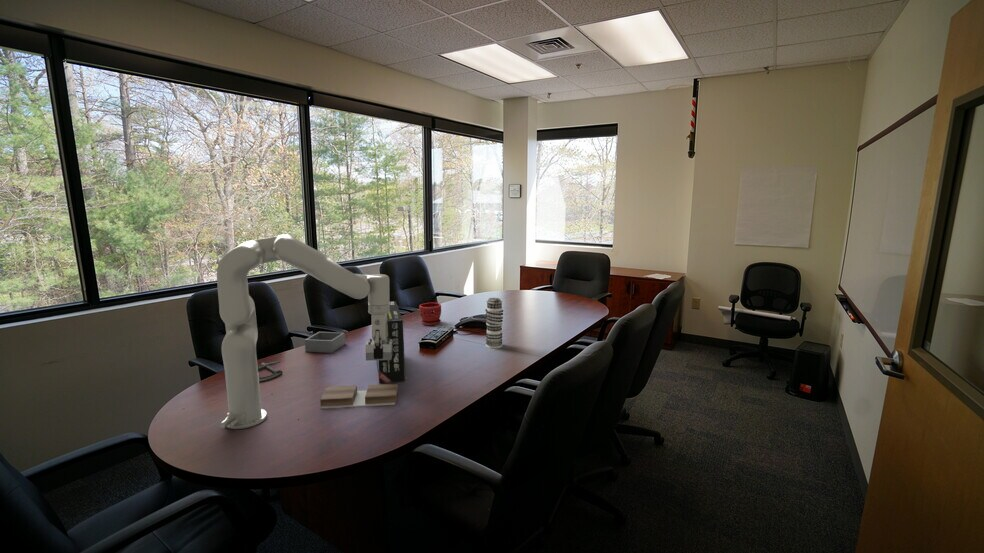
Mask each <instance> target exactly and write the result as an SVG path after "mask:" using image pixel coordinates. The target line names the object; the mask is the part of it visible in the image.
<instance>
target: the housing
mask: <svg viewBox="0 0 984 553" xmlns="http://www.w3.org/2000/svg"><path fill="white" fill-rule="evenodd" d="M379 343H380V342H379ZM382 348H383V359H374V341H373V340H372V338H369V339H367V340H366V343H365V361H368V362H369V361H376V360H391V358H392V339H390V338H388V339H387V340H385V341H384V340H382Z"/></svg>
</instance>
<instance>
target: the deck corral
mask: <svg viewBox="0 0 984 553" xmlns="http://www.w3.org/2000/svg"><path fill="white" fill-rule="evenodd" d="M344 345H346V334H345V332H334V331H333V332H332V331H317V332H316V333H314V334H313V335H310V336H309V337H307V338H305V339H304V349H305V352H306V353H307V352H309V353H327V354H328V353H329V354H333V353H335V352H336V351H337V350H338V349H341V347H344Z"/></svg>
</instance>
